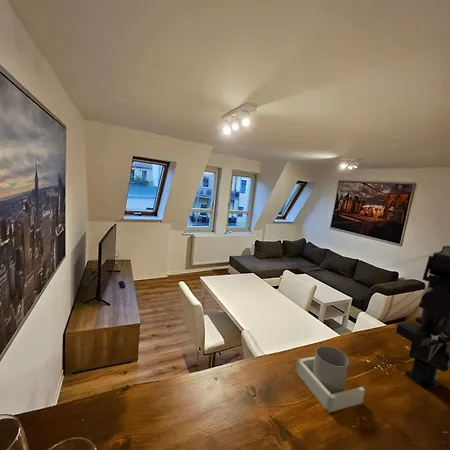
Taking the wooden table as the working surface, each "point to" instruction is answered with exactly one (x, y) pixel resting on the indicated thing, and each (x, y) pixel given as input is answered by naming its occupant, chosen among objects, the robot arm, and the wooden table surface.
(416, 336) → the robot arm
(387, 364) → the wooden table surface
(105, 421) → the wooden table surface
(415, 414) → the wooden table surface
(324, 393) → the u-shaped wall frame
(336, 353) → the cup
